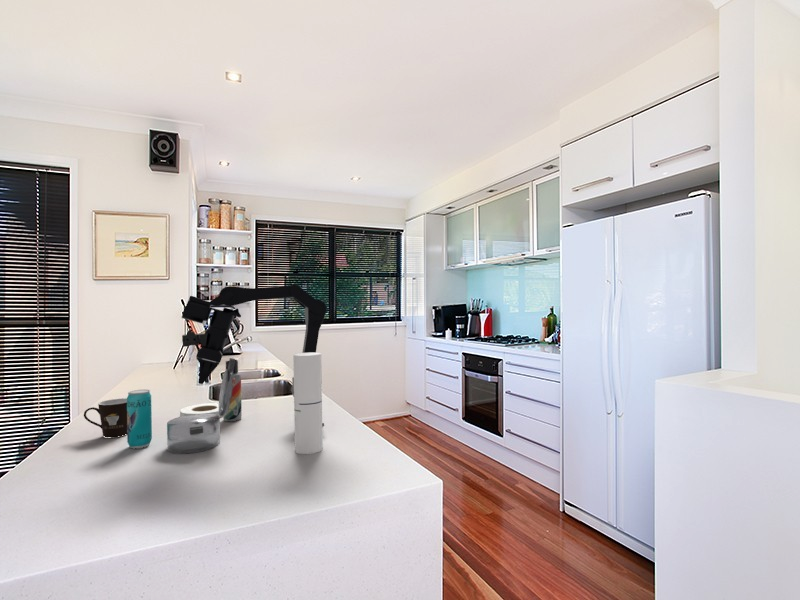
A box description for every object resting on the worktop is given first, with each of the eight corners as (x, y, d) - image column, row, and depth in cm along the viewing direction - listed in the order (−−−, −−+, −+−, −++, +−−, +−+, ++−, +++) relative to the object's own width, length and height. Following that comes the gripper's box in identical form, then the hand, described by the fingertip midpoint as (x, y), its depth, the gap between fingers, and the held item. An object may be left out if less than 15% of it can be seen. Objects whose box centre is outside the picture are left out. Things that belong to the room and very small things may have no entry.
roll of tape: (237, 413, 154) (237, 405, 154) (197, 424, 141) (197, 415, 141) (210, 408, 163) (210, 401, 163) (170, 418, 150) (170, 410, 150)
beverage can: (122, 447, 118) (122, 392, 118) (143, 441, 123) (143, 388, 123) (135, 451, 115) (134, 394, 115) (156, 444, 120) (155, 390, 120)
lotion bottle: (229, 422, 141) (228, 361, 141) (219, 420, 145) (219, 360, 145) (245, 418, 146) (244, 359, 146) (235, 416, 149) (234, 358, 149)
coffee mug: (139, 431, 134) (139, 398, 134) (118, 439, 125) (118, 405, 125) (104, 430, 135) (104, 398, 135) (81, 439, 126) (81, 404, 126)
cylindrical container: (316, 454, 110) (314, 355, 110) (290, 453, 111) (288, 355, 111) (326, 445, 117) (325, 352, 117) (301, 444, 118) (300, 352, 118)
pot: (216, 433, 130) (215, 409, 130) (224, 450, 114) (223, 423, 114) (166, 440, 123) (166, 416, 123) (168, 459, 108) (167, 431, 108)
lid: (216, 410, 128) (225, 410, 129) (222, 420, 116) (232, 420, 117) (226, 356, 129) (234, 356, 130) (232, 360, 118) (242, 361, 119)
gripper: (192, 319, 132) (175, 369, 130) (186, 321, 114) (166, 379, 112) (230, 329, 135) (213, 378, 134) (229, 333, 118) (211, 389, 116)
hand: (201, 381), depth 124 cm, fingers open, 9 cm apart
